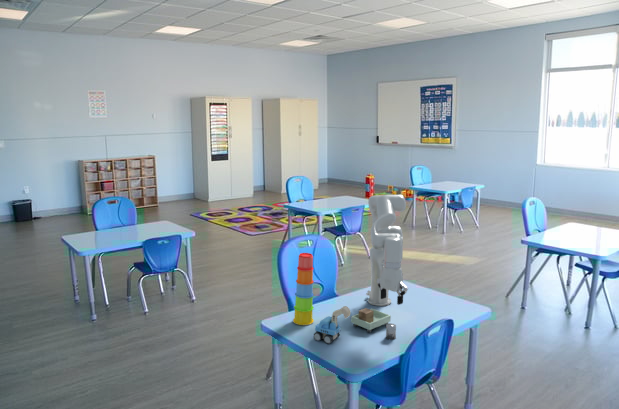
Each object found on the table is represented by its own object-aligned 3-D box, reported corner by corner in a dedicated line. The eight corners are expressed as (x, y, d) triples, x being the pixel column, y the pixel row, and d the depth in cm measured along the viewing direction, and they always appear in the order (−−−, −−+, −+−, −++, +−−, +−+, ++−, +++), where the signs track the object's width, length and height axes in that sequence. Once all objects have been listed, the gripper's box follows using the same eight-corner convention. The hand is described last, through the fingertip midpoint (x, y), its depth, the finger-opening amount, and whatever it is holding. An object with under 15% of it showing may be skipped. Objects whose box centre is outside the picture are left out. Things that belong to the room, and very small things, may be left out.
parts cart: (351, 326, 242) (351, 316, 242) (371, 318, 252) (372, 308, 251) (369, 334, 234) (369, 323, 233) (390, 325, 243) (390, 315, 242)
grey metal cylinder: (384, 337, 230) (384, 325, 229) (390, 334, 233) (390, 322, 232) (391, 340, 227) (391, 328, 226) (397, 337, 230) (397, 325, 229)
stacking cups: (301, 315, 256) (300, 250, 250) (317, 320, 250) (317, 253, 244) (288, 322, 247) (287, 255, 241) (305, 327, 242) (304, 258, 236)
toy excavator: (344, 348, 220) (344, 311, 217) (311, 339, 228) (311, 304, 225) (352, 341, 227) (353, 305, 224) (321, 333, 235) (321, 298, 232)
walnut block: (358, 322, 240) (358, 310, 239) (365, 319, 244) (365, 308, 243) (366, 325, 237) (366, 313, 236) (373, 322, 240) (373, 311, 239)
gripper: (372, 262, 228) (371, 298, 231) (402, 270, 215) (401, 308, 218) (383, 259, 233) (382, 294, 235) (413, 267, 220) (412, 304, 223)
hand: (391, 301), depth 227 cm, fingers open, 9 cm apart
